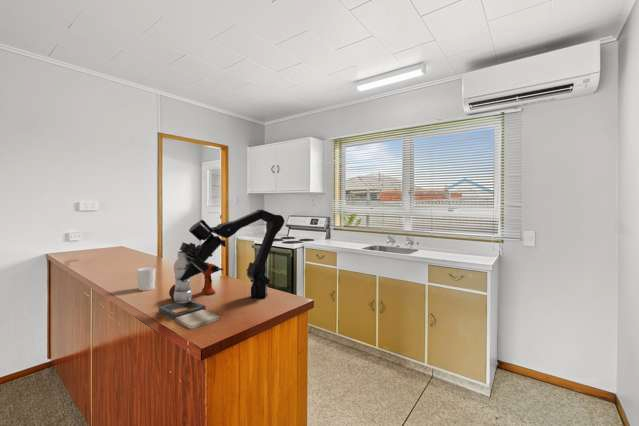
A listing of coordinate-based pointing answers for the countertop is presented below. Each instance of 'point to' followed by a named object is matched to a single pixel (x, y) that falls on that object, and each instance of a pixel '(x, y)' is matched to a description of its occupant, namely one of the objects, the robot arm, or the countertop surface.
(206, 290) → the toy drill
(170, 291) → the potato
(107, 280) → the countertop surface
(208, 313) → the board
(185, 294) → the plastic bottle
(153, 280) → the white cup
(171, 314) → the collar
